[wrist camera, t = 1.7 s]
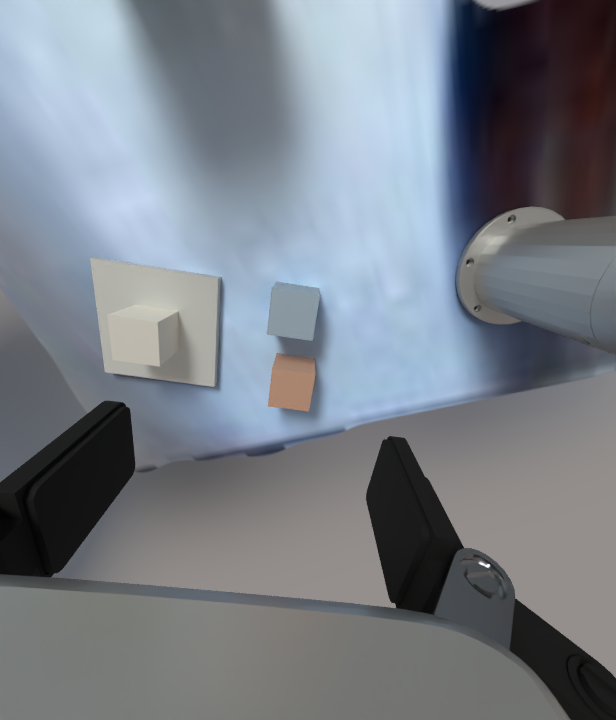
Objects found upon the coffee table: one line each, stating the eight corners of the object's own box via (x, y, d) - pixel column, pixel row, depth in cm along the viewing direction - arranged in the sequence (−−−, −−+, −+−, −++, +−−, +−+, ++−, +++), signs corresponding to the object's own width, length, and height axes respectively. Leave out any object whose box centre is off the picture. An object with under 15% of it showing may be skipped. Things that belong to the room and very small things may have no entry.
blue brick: (318, 288, 34) (320, 295, 29) (311, 328, 36) (312, 341, 31) (276, 281, 34) (271, 287, 29) (272, 322, 36) (266, 334, 31)
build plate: (221, 277, 33) (218, 278, 32) (217, 382, 39) (214, 387, 38) (97, 257, 33) (90, 258, 31) (111, 368, 38) (105, 372, 37)
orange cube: (314, 358, 37) (315, 374, 33) (308, 391, 39) (308, 411, 35) (276, 353, 37) (272, 368, 33) (272, 386, 39) (267, 406, 34)
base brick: (178, 311, 34) (157, 322, 29) (179, 350, 36) (159, 366, 31) (135, 304, 33) (107, 314, 29) (138, 344, 35) (112, 360, 31)
